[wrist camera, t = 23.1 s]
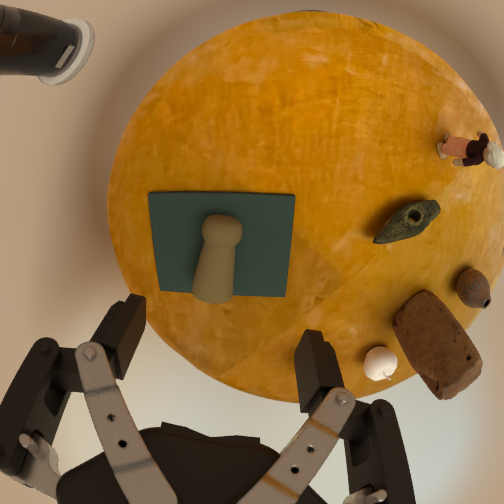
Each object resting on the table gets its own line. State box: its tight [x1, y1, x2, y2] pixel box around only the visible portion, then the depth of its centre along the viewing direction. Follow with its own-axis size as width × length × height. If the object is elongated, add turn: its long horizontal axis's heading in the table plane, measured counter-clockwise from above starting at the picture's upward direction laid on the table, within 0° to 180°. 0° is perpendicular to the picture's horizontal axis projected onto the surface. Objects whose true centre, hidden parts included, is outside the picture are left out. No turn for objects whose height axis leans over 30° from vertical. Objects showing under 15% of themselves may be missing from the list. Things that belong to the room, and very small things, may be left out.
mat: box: [148, 191, 295, 297], centre depth 39 cm, size 20×16×1 cm
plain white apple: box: [364, 346, 397, 381], centre depth 46 cm, size 7×7×8 cm
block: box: [393, 292, 483, 400], centre depth 36 cm, size 11×8×20 cm
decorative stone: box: [373, 200, 440, 244], centre depth 35 cm, size 11×8×5 cm
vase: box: [456, 269, 491, 309], centre depth 38 cm, size 7×7×9 cm
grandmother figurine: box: [437, 131, 504, 169], centre depth 25 cm, size 8×4×13 cm, turn 151°
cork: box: [191, 214, 243, 304], centre depth 36 cm, size 6×6×11 cm
